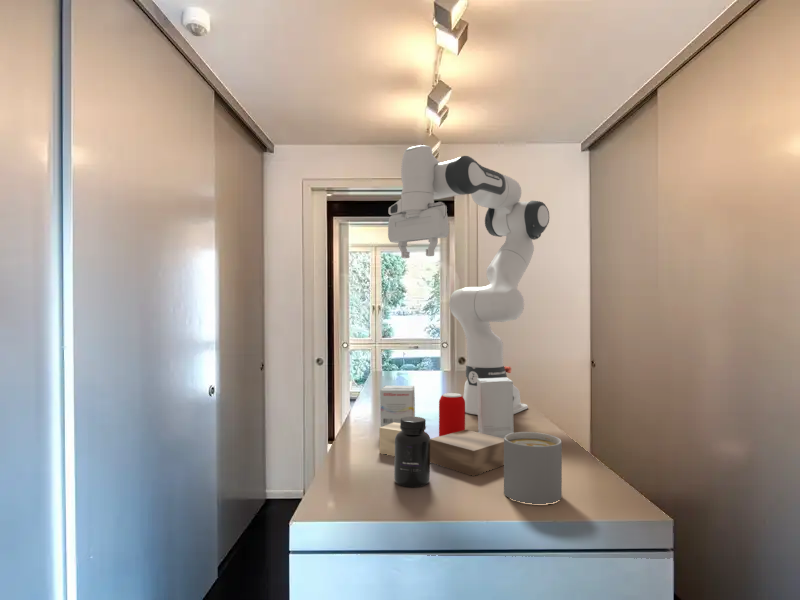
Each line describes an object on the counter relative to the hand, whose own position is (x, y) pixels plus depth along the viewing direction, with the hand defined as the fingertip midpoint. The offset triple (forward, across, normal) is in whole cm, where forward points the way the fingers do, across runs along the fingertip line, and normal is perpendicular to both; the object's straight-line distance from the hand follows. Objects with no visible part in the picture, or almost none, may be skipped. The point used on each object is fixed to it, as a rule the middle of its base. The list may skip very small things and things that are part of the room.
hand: (417, 257), depth 141 cm
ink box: (+47, +1, +6) cm, 47 cm away
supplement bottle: (+47, -29, +30) cm, 62 cm away
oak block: (+46, -13, +19) cm, 52 cm away
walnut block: (+46, -29, +13) cm, 56 cm away
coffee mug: (+46, -47, +18) cm, 68 cm away
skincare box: (+46, -20, -8) cm, 51 cm away
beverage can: (+46, -17, +5) cm, 50 cm away
